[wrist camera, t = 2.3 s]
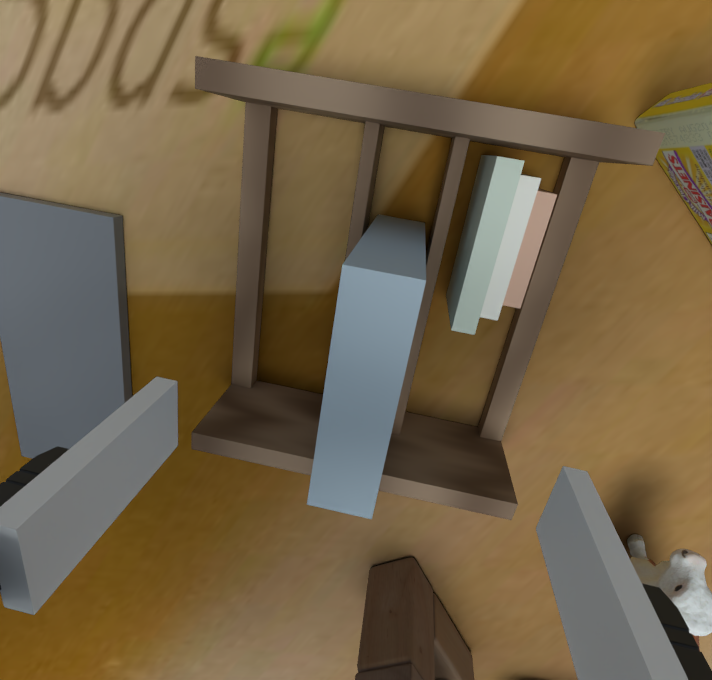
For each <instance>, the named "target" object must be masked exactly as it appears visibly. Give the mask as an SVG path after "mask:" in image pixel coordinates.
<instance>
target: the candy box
mask: <svg viewBox="0 0 712 680" xmlns="http://www.w3.org/2000/svg"><path fill="white" fill-rule="evenodd" d="M635 125H636V127H637V129H643V130H649V131H656V132H662V133H665V135H664V138H663V140H662V143H661V145H660V148H659V150H658V153H657V155H656V159H657V160H658V162H659V164H660V165H661V166H662V168H663V170H664V171H665V173H666V174H667V176H668V177H669V179H670V180H671V182H672V183H673V185H674V186H675V188H676V189H677V191H678V193H679V194H680V196H681V197H682V199H683V200H684V202H685V203H686V205H687V206H688V208H689V209H690V211H691V213H692V214H693V216H694V217H695V219H696V220H697V222H698V223H699V225H700V226H701V228H702V229H703V231H704V233H705V234H706V236H707V238H708V239H709V241H710V242H711V244H712V83H708V84H704V85H700V86H696V87H693V88H689V89H685V90H681V91H677V92H673V93H670V94H668V95H667V96H666V97H664V98H663V99H662V100H660V101H659V102H657V103H656V104H655V105H653V106H652V107H651V108H649V109H648V110H647V111H645V112H644V113H643V114H641V115H640V116H639V117H638V118H637V119H636V120H635Z"/></svg>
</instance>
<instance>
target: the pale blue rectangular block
mask: <svg viewBox="0 0 712 680" xmlns="http://www.w3.org/2000/svg"><path fill="white" fill-rule="evenodd" d="M425 284H426V246H425V223H423V222H418V221H412V220H407V219H401V218H396V217H390V216H385V215H379V214H378V215H377V217H376V218H375V219H374V221H373V222H372V224H371V225H370V226H369V228H368V229H367V231H366V232H365V233H364V235H363V236H362V238H361V239H360V240H359V242H358V243H357V245H356V246H355V248H354V249H353V250H352V252H351V253H350V255H349V256H348V257H347V259H346V260H345V262H344V263H343V264H342V271H341V277H340V284H339V291H338V298H337V305H336V311H335V318H334V325H333V332H332V338H331V345H330V352H329V359H328V366H327V372H326V379H325V386H324V393H323V399H322V406H321V413H320V420H319V427H318V433H317V440H316V447H315V454H314V460H313V467H312V474H311V481H310V487H309V494H308V501H307V505H311V506H316V507H320V508H324V509H329V510H333V511H338V512H342V513H346V514H351V515H355V516H360V517H364V518H368V519H372V516H373V511H374V507H375V503H376V498H377V494H378V490H379V485H380V481H381V476H382V472H383V468H384V463H385V459H386V455H387V450H388V446H389V441H390V437H391V433H392V428H393V424H394V419H395V415H396V411H397V406H398V402H399V398H400V393H401V389H402V384H403V380H404V376H405V371H406V367H407V363H408V358H409V354H410V349H411V345H412V341H413V336H414V332H415V327H416V323H417V319H418V314H419V310H420V306H421V301H422V297H423V292H424V288H425Z"/></svg>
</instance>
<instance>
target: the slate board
mask: <svg viewBox="0 0 712 680" xmlns="http://www.w3.org/2000/svg"><path fill="white" fill-rule="evenodd" d="M0 338H1V343H2V349H3V355H4V360H5V366H6V371H7V377H8V382H9V388H10V393H11V399H12V404H13V410H14V416H15V421H16V427H17V432H18V438H19V443H20V449H21V454H22V456H24V457H28V458H34V457H36V456H37V455H39V454H42V453H44V452H46V451H48V450H50V449H53V448H55V447H57V446H59V447H63V448H67V449H70V448H71V447H73V446H74V445H75V444H76V443H77V442H79V441H80V440H81V439H82V438H83V437H85V436H86V435H87V434H88V433H89V432H91V431H92V430H93V429H94V428H95V427H97V426H98V425H99V424H100V423H101V422H103V421H104V420H105V419H106V418H107V417H109V416H110V415H111V414H112V413H113V412H115V411H116V410H117V409H118V408H119V407H121V406H122V405H123V404H124V403H125V402H127V401H128V400H129V399H130V398H131V397H132V386H131V367H130V349H129V330H128V311H127V292H126V273H125V254H124V236H123V217H122V215H117V214H112V213H106V212H101V211H96V210H91V209H85V208H80V207H75V206H70V205H64V204H59V203H54V202H48V201H43V200H38V199H33V198H27V197H22V196H17V195H12V194H6V193H1V192H0Z"/></svg>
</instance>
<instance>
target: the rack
mask: <svg viewBox="0 0 712 680" xmlns="http://www.w3.org/2000/svg"><path fill="white" fill-rule="evenodd" d="M195 89H199V90H203V91H206V92H210V93H214V94H217V95H221V96H225V97H229V98H232V99H236V100H240V101H243V102H246V107H245V126H244V146H243V166H242V185H241V205H240V225H239V245H238V264H237V284H236V304H235V324H234V343H233V363H232V383H231V385H230V387H229V388H228V389H227V390H226V391H225V393H224V394H223V395H222V396H221V398H220V399H219V400H218V401H217V402H216V404H215V405H214V406H213V407H212V408H211V410H210V411H209V412H208V413H207V415H206V416H205V417H204V418H203V419H202V421H201V422H200V423H199V424H198V425H197V427H196V428H195V429H194V430H193V432H192V449H195V450H199V451H203V452H208V453H212V454H217V455H221V456H226V457H230V458H235V459H239V460H244V461H248V462H253V463H257V464H262V465H266V466H271V467H275V468H280V469H284V470H289V471H293V472H298V473H302V474H307V475H311V474H312V467H313V460H314V454H315V447H316V440H317V433H318V427H319V420H320V413H321V406H322V399H323V394H318V393H314V392H309V391H304V390H299V389H295V388H290V387H285V386H280V385H276V384H271V383H266V382H261V381H257V369H258V356H259V343H260V330H261V317H262V304H263V291H264V278H265V265H266V252H267V239H268V226H269V213H270V200H271V187H272V174H273V161H274V148H275V134H276V121H277V108H279V109H284V110H290V111H296V112H302V113H308V114H314V115H320V116H326V117H332V118H338V119H343V120H349V121H355V122H361V123H365V130H364V137H363V143H362V150H361V157H360V163H359V170H358V177H357V183H356V190H355V197H354V203H353V210H352V217H351V224H350V230H349V237H348V244H347V250H346V257H345V260H346V259H347V257H348V256H349V255H350V253H351V252H352V250H353V249H354V248H355V246H356V245H357V243H358V242H359V240H360V239H361V238H362V236H363V235H364V233H365V232H366V231H367V229H368V224H369V218H370V212H371V206H372V199H373V193H374V187H375V181H376V175H377V169H378V163H379V157H380V151H381V145H382V139H383V133H384V127H391V128H397V129H402V130H408V131H414V132H420V133H426V134H432V135H438V136H444V137H450V138H452V141H451V145H450V150H449V154H448V159H447V163H446V168H445V172H444V177H443V181H442V186H441V190H440V195H439V199H438V204H437V208H436V213H435V217H434V222H433V226H432V231H431V235H430V240H429V244H428V249H427V253H426V284H425V288H424V292H423V297H422V301H421V306H420V310H419V314H418V319H417V323H416V327H415V332H414V336H413V341H412V345H411V349H410V354H409V358H408V363H407V367H406V371H405V376H404V380H403V384H402V389H401V393H400V398H399V402H398V406H397V411H396V415H395V419H394V424H393V428H392V433H391V437H390V441H389V446H388V450H387V455H386V459H385V463H384V468H383V472H382V476H381V481H380V485H379V491H383V492H388V493H392V494H396V495H401V496H405V497H410V498H414V499H419V500H423V501H428V502H432V503H437V504H441V505H446V506H450V507H455V508H459V509H464V510H468V511H473V512H477V513H482V514H486V515H491V516H495V517H500V518H504V519H509V520H512V518H513V515H514V513H515V510H516V507H517V505H518V503H517V500H516V496H515V492H514V488H513V484H512V481H511V477H510V473H509V469H508V466H507V462H506V458H505V454H504V451H503V447H502V443H501V440H502V437H503V434H504V432H505V429H506V426H507V423H508V420H509V417H510V415H511V412H512V409H513V406H514V403H515V400H516V397H517V395H518V392H519V389H520V386H521V383H522V380H523V378H524V375H525V372H526V369H527V366H528V363H529V360H530V358H531V355H532V352H533V349H534V346H535V343H536V341H537V338H538V335H539V332H540V329H541V326H542V323H543V321H544V318H545V315H546V312H547V309H548V306H549V304H550V301H551V298H552V295H553V292H554V289H555V286H556V284H557V281H558V278H559V275H560V272H561V269H562V267H563V264H564V261H565V258H566V255H567V252H568V249H569V247H570V244H571V241H572V238H573V235H574V232H575V230H576V227H577V224H578V221H579V218H580V215H581V212H582V210H583V207H584V204H585V201H586V198H587V195H588V193H589V190H590V187H591V184H592V181H593V178H594V175H595V173H596V170H597V167H598V164H599V162H606V163H621V164H636V165H651V166H652V165H653V163H654V160H655V158H656V155H657V153H658V150H659V148H660V145H661V143H662V140H663V138H664V135H665V133H662V132H656V131H649V130H643V129H637V128H631V127H625V126H619V125H613V124H607V123H601V122H595V121H588V120H582V119H576V118H570V117H564V116H558V115H552V114H546V113H540V112H534V111H527V110H521V109H515V108H509V107H503V106H497V105H491V104H485V103H479V102H473V101H466V100H460V99H454V98H448V97H442V96H436V95H430V94H424V93H418V92H411V91H405V90H399V89H393V88H387V87H381V86H375V85H369V84H363V83H357V82H350V81H344V80H338V79H332V78H326V77H320V76H314V75H308V74H302V73H296V72H289V71H283V70H277V69H271V68H265V67H259V66H253V65H247V64H241V63H235V62H228V61H222V60H216V59H210V58H204V57H198V56H196V57H195ZM469 141H473V142H479V143H485V144H491V145H497V146H503V147H509V148H514V149H520V150H526V151H532V152H538V153H544V154H550V155H556V156H562V157H565V158H564V161H563V164H562V168H561V171H560V174H559V177H558V180H557V183H556V186H555V189H554V193H555V194H557V197H556V200H555V203H554V206H553V210H552V213H551V216H550V219H549V222H548V225H547V228H546V231H545V234H544V237H543V240H542V243H541V246H540V250H539V253H538V256H537V259H536V262H535V265H534V268H533V271H532V274H531V277H530V280H529V283H528V286H527V290H526V293H525V296H524V299H523V302H522V305H521V308H516V311H515V314H514V317H513V320H512V323H511V326H510V330H509V333H508V336H507V339H506V342H505V345H504V348H503V351H502V354H501V358H500V361H499V364H498V367H497V370H496V373H495V376H494V379H493V382H492V386H491V389H490V392H489V395H488V398H487V401H486V404H485V407H484V411H483V414H482V417H481V420H480V423H479V426H478V427H475V426H470V425H466V424H461V423H456V422H451V421H447V420H442V419H437V418H432V417H428V416H423V415H418V414H413V413H409V412H405V410H406V406H407V402H408V398H409V393H410V389H411V385H412V381H413V377H414V372H415V368H416V364H417V360H418V356H419V351H420V347H421V343H422V339H423V335H424V330H425V326H426V322H427V318H428V313H429V309H430V305H431V301H432V297H433V292H434V288H435V284H436V280H437V276H438V271H439V267H440V263H441V259H442V255H443V250H444V246H445V242H446V238H447V234H448V229H449V225H450V221H451V217H452V213H453V208H454V204H455V200H456V196H457V192H458V187H459V183H460V179H461V175H462V170H463V166H464V162H465V158H466V154H467V149H468V145H469Z"/></svg>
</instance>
